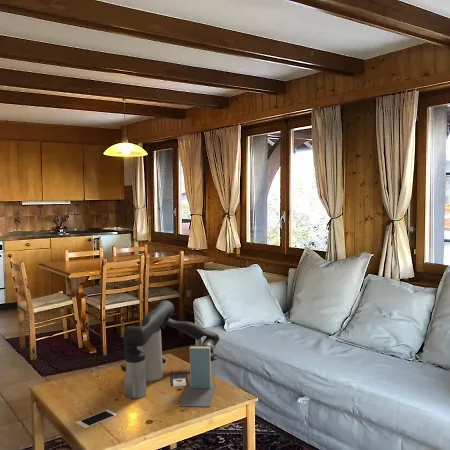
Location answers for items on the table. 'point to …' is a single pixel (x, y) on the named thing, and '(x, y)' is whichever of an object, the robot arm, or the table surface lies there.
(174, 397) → the table surface
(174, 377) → the chocolate bar
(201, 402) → the felt mat
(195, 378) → the tile
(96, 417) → the cell phone
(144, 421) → the table surface
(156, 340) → the cylinder vase
